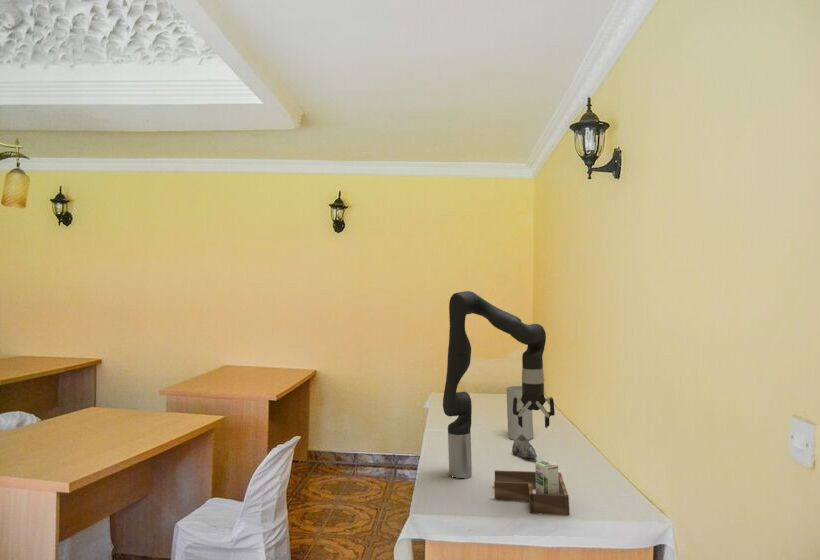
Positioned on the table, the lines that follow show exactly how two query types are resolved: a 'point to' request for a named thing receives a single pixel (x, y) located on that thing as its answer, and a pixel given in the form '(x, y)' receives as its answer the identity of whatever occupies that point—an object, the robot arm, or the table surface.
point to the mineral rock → (523, 447)
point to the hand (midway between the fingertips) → (533, 426)
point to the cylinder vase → (513, 419)
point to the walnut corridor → (530, 492)
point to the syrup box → (546, 477)
